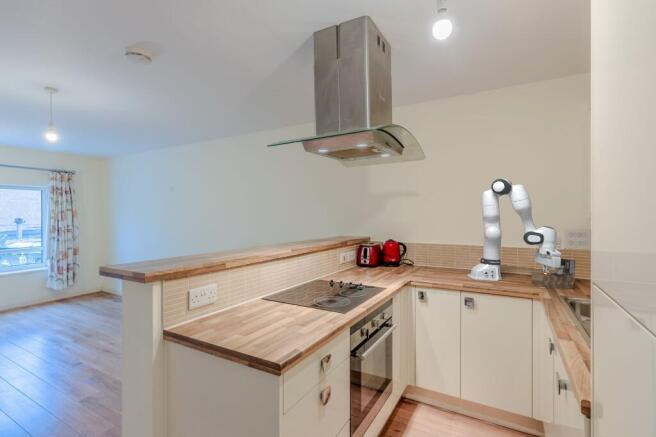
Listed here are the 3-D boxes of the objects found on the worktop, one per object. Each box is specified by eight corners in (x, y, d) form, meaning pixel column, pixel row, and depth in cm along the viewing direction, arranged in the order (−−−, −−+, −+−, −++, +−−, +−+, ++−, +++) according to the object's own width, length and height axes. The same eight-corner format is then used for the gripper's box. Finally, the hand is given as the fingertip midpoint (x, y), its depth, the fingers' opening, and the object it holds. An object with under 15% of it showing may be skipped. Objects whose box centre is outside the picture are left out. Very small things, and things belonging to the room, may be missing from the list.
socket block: (541, 288, 198) (541, 275, 198) (531, 284, 208) (532, 272, 208) (573, 289, 198) (573, 276, 197) (561, 284, 208) (562, 273, 207)
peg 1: (544, 287, 200) (544, 273, 200) (538, 284, 206) (539, 271, 205) (552, 287, 200) (553, 273, 200) (547, 285, 206) (547, 271, 205)
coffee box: (574, 283, 211) (576, 260, 211) (569, 284, 209) (570, 261, 208) (560, 280, 220) (561, 258, 219) (554, 281, 217) (556, 258, 216)
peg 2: (557, 280, 200) (557, 266, 199) (551, 278, 205) (551, 264, 205) (565, 280, 200) (566, 266, 199) (559, 278, 205) (560, 264, 205)
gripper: (532, 248, 212) (531, 268, 213) (553, 253, 192) (551, 275, 193) (541, 248, 212) (540, 268, 213) (563, 254, 192) (561, 275, 192)
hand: (545, 272), depth 203 cm, fingers closed
